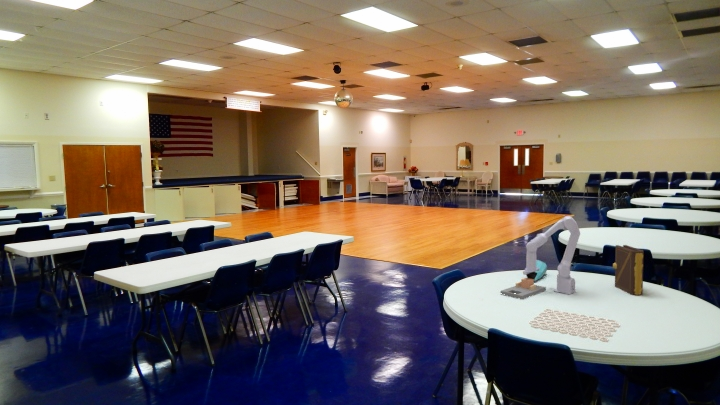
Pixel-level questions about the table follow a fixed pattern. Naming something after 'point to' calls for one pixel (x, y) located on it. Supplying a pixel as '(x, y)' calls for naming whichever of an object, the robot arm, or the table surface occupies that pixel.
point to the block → (527, 283)
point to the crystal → (540, 269)
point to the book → (629, 269)
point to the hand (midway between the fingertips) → (531, 284)
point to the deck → (523, 291)
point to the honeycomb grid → (579, 324)
